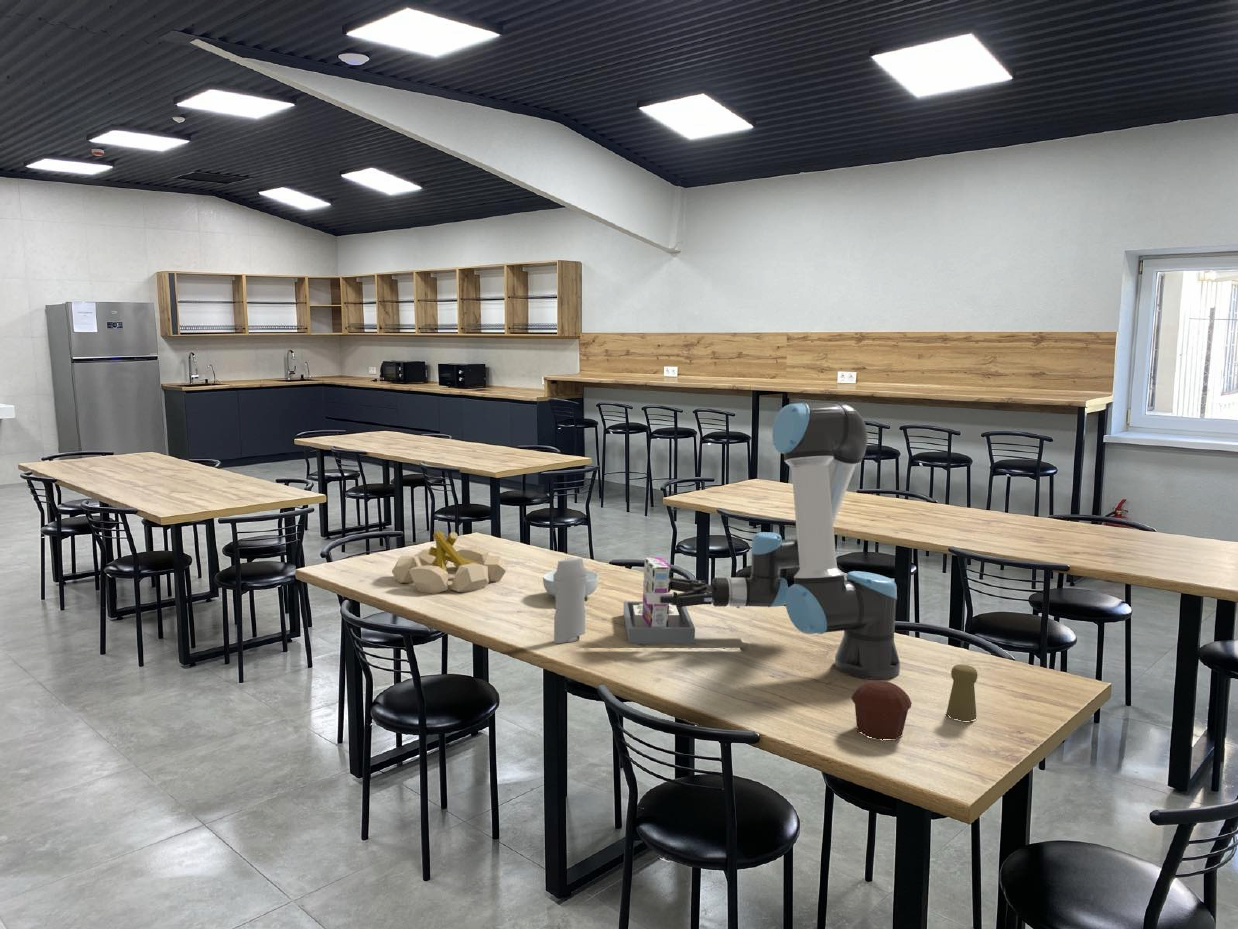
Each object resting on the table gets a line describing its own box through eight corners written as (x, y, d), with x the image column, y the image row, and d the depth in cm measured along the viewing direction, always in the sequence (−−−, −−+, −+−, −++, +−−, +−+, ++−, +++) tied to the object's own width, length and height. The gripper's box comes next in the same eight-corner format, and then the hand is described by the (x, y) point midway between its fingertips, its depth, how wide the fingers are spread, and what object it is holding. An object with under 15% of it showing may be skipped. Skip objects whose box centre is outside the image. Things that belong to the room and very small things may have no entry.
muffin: (851, 740, 175) (854, 692, 173) (846, 717, 185) (849, 672, 184) (914, 746, 173) (917, 697, 171) (905, 722, 184) (908, 676, 182)
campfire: (377, 578, 289) (376, 527, 287) (466, 562, 312) (465, 514, 310) (432, 601, 264) (432, 546, 262) (525, 582, 287) (525, 531, 284)
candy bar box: (669, 629, 228) (671, 567, 225) (650, 630, 227) (652, 568, 225) (659, 615, 239) (661, 556, 236) (641, 616, 238) (643, 557, 235)
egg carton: (679, 627, 240) (679, 611, 239) (634, 627, 239) (635, 611, 238) (675, 617, 248) (675, 601, 248) (632, 617, 248) (633, 601, 247)
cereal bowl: (588, 588, 281) (588, 566, 280) (606, 602, 265) (606, 579, 264) (536, 592, 275) (536, 570, 274) (551, 607, 259) (552, 584, 258)
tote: (694, 647, 227) (695, 628, 226) (628, 647, 226) (628, 628, 225) (683, 618, 251) (683, 601, 250) (623, 618, 250) (623, 601, 249)
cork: (969, 710, 190) (972, 661, 189) (981, 722, 184) (985, 671, 183) (941, 710, 190) (944, 661, 188) (953, 722, 184) (956, 671, 182)
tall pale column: (557, 646, 226) (558, 562, 223) (548, 641, 230) (549, 558, 227) (590, 637, 233) (591, 556, 230) (581, 633, 236) (582, 553, 233)
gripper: (735, 620, 221) (648, 619, 220) (720, 593, 245) (641, 592, 244) (736, 591, 220) (649, 590, 219) (721, 566, 244) (642, 566, 243)
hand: (645, 591), depth 231 cm, fingers closed on candy bar box, 11 cm apart
